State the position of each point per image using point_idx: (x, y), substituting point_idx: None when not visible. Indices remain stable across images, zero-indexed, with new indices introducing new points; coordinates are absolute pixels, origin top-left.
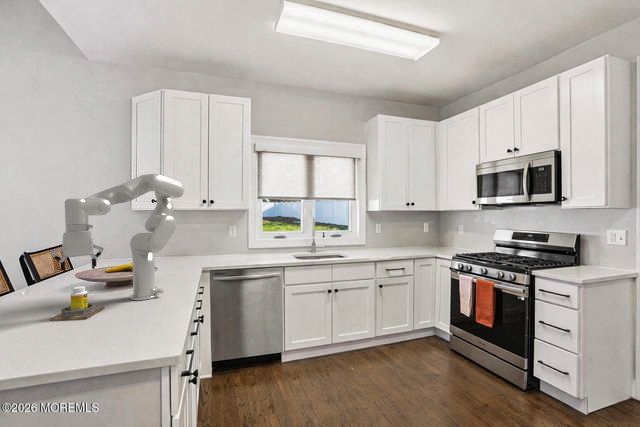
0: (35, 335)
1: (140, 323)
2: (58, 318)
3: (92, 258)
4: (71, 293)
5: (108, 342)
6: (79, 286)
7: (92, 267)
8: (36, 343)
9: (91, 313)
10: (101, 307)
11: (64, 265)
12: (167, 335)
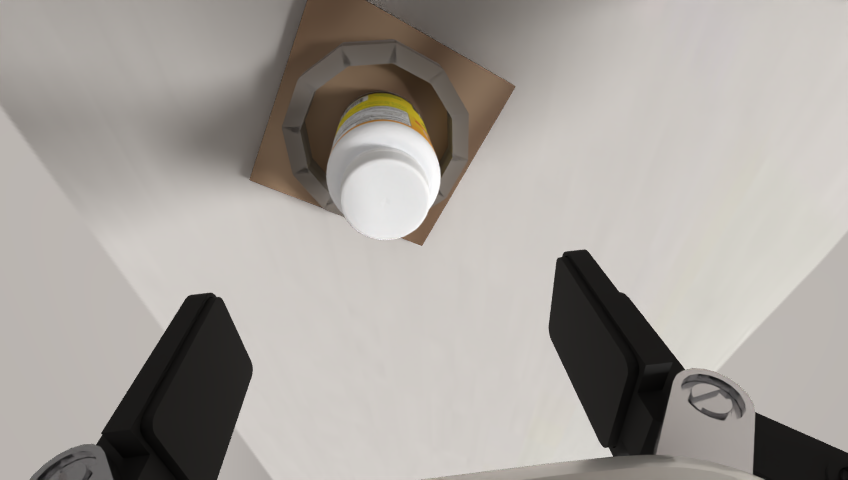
0: (264, 339)
1: None
2: (292, 194)
3: (636, 424)
4: (333, 194)
5: (476, 455)
6: (385, 161)
7: (555, 334)
8: (296, 402)
9: (443, 200)
10: (498, 95)
11: (217, 459)
12: None
